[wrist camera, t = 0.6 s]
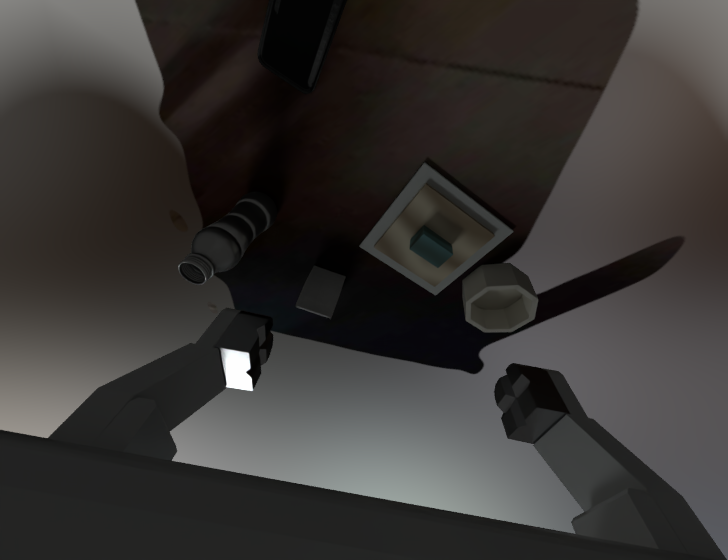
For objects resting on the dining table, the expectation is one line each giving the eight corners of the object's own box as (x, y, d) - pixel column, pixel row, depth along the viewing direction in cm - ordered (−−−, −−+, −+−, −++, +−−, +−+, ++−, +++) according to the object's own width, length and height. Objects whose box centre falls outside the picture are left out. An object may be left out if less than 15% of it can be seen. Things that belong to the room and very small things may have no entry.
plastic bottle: (240, 207, 51) (161, 274, 36) (254, 179, 47) (172, 241, 32) (271, 228, 53) (208, 301, 38) (287, 203, 49) (224, 273, 34)
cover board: (426, 182, 42) (426, 192, 39) (494, 233, 45) (498, 246, 42) (374, 245, 50) (371, 256, 48) (434, 284, 54) (435, 297, 51)
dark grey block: (314, 265, 57) (296, 299, 49) (345, 276, 57) (333, 311, 50) (311, 278, 59) (294, 312, 52) (341, 288, 60) (328, 324, 52)
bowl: (496, 253, 48) (503, 274, 43) (540, 285, 50) (551, 309, 46) (450, 289, 55) (452, 311, 50) (491, 316, 57) (496, 340, 53)
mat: (424, 161, 41) (424, 162, 40) (512, 229, 45) (513, 231, 44) (359, 244, 52) (359, 246, 51) (435, 293, 56) (435, 295, 55)
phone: (364, -55, 28) (309, 97, 37) (366, -52, 29) (312, 96, 38) (293, -114, 27) (254, 60, 36) (297, -109, 28) (258, 60, 37)
